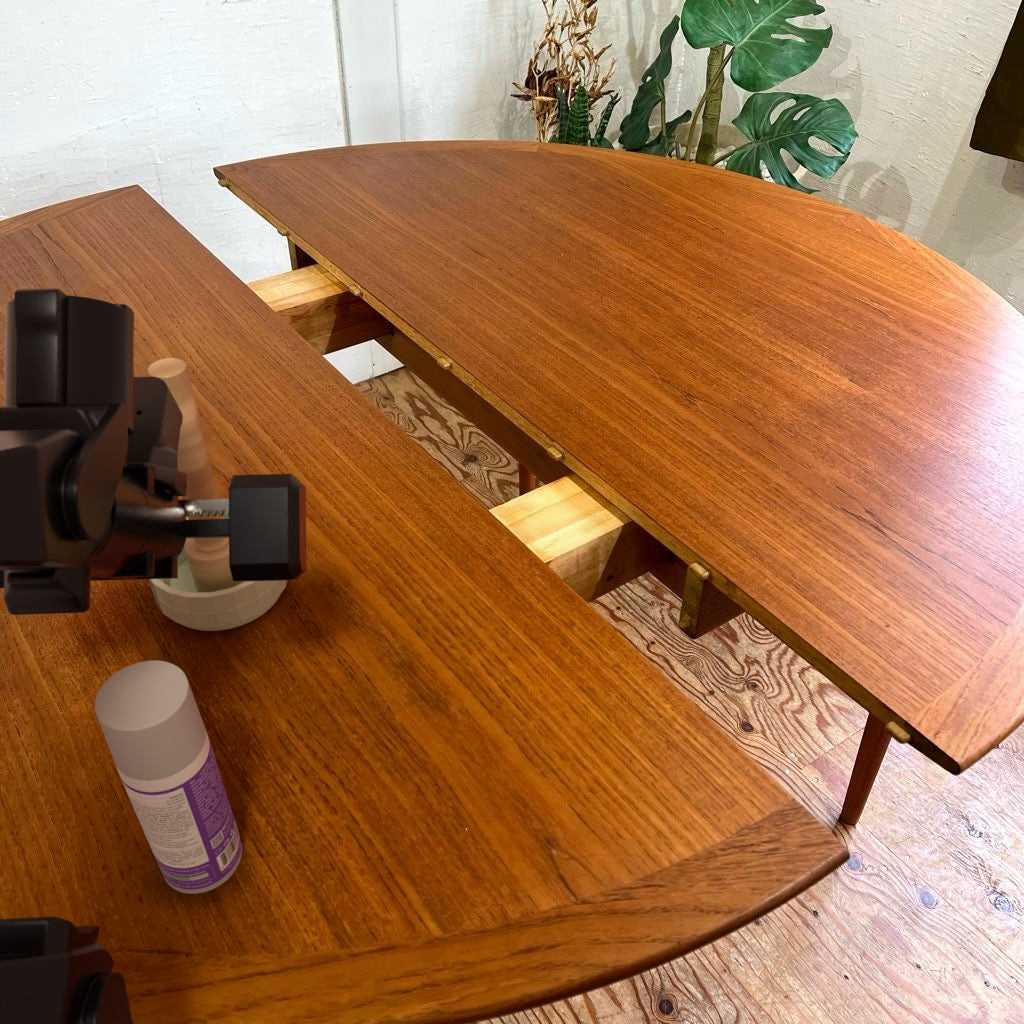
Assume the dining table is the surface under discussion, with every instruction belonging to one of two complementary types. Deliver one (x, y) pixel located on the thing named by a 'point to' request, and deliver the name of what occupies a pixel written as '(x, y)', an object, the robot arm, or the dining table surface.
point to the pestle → (196, 480)
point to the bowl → (213, 600)
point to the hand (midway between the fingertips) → (185, 540)
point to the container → (170, 774)
